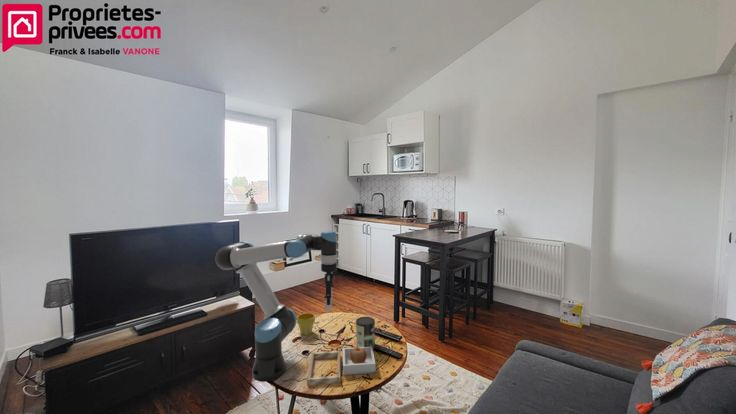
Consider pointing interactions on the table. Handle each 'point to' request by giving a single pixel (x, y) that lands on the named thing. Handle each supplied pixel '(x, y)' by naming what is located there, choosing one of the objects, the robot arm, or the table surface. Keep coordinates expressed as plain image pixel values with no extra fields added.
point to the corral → (323, 379)
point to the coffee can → (365, 332)
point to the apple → (358, 355)
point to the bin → (360, 368)
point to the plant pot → (306, 323)
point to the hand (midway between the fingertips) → (329, 305)
